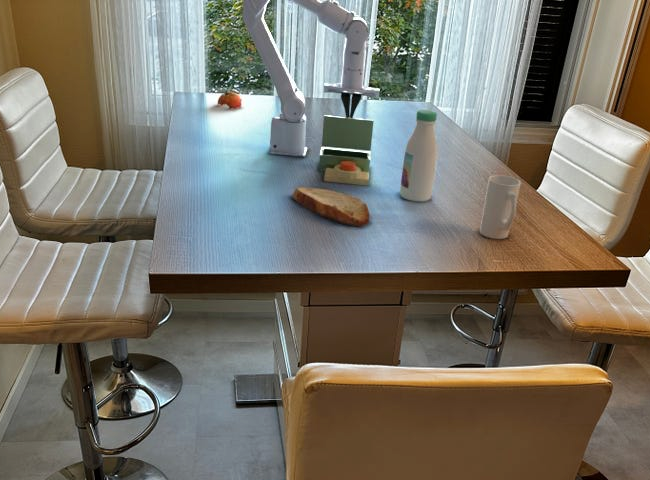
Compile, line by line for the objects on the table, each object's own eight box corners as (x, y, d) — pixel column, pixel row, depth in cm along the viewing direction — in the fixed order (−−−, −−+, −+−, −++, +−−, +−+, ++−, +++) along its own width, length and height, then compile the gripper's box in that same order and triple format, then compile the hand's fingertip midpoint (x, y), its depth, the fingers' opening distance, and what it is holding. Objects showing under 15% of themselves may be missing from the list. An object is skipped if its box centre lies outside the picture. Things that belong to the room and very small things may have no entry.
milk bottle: (434, 195, 172) (447, 111, 162) (426, 204, 166) (439, 118, 155) (404, 189, 174) (415, 105, 163) (395, 198, 168) (406, 112, 157)
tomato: (217, 97, 232) (231, 82, 228) (233, 112, 235) (247, 98, 231) (212, 106, 226) (226, 91, 222) (229, 122, 229) (243, 107, 225)
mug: (473, 227, 156) (483, 174, 149) (500, 227, 158) (512, 175, 151) (492, 246, 148) (504, 191, 141) (521, 245, 149) (533, 191, 143)
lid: (373, 120, 181) (373, 120, 181) (323, 115, 181) (324, 115, 181) (370, 150, 184) (370, 150, 185) (321, 146, 184) (321, 145, 184)
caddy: (368, 175, 181) (370, 159, 179) (318, 170, 181) (319, 154, 178) (368, 167, 187) (370, 152, 185) (320, 162, 187) (321, 147, 184)
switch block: (323, 182, 173) (324, 170, 172) (325, 173, 179) (326, 161, 178) (368, 186, 173) (369, 174, 172) (368, 177, 180) (369, 165, 178)
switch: (339, 171, 173) (340, 164, 172) (340, 167, 176) (341, 160, 175) (354, 173, 173) (355, 166, 172) (354, 168, 176) (355, 161, 175)
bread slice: (293, 193, 164) (294, 177, 162) (369, 200, 165) (371, 185, 163) (284, 221, 149) (285, 204, 147) (368, 229, 150) (370, 212, 148)
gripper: (324, 68, 178) (321, 123, 185) (381, 74, 178) (375, 128, 185) (326, 64, 184) (322, 117, 191) (381, 69, 184) (375, 122, 191)
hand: (349, 122), depth 189 cm, fingers closed
